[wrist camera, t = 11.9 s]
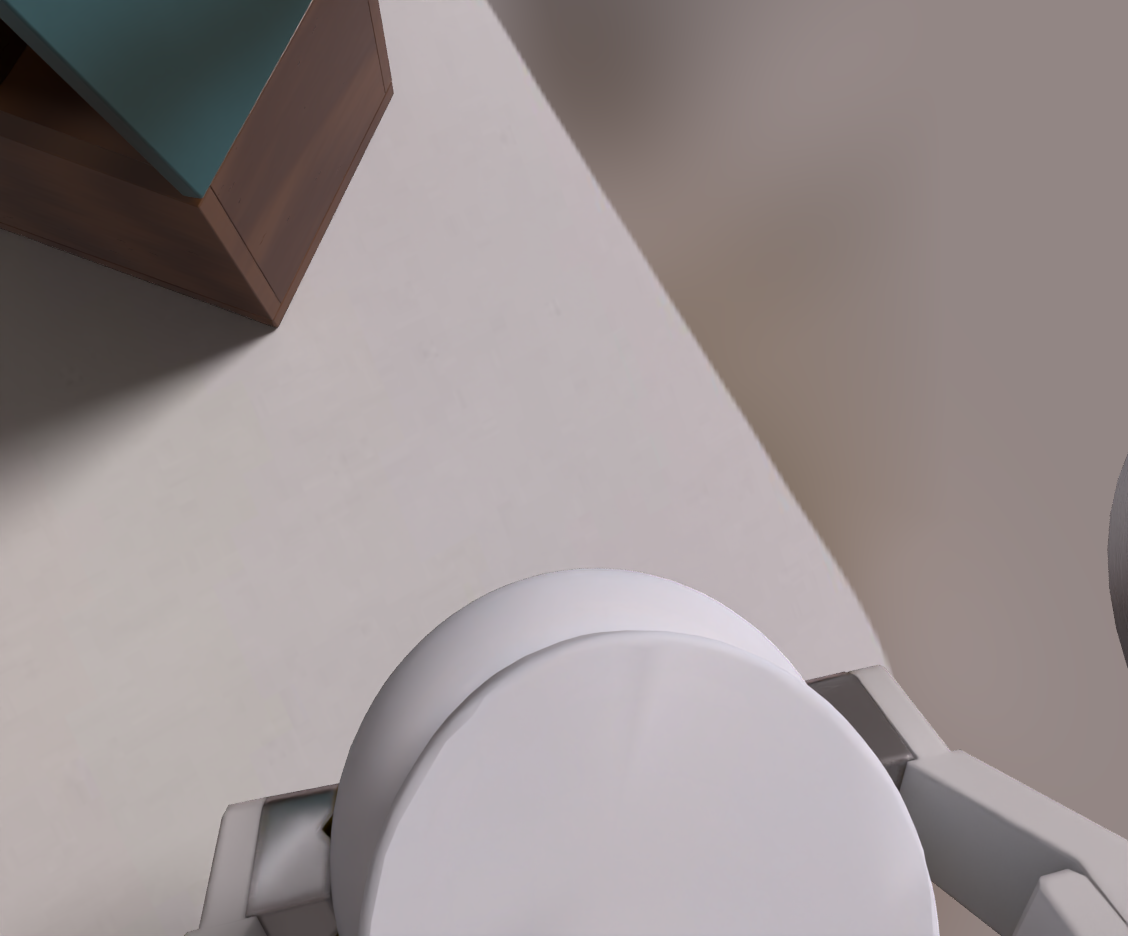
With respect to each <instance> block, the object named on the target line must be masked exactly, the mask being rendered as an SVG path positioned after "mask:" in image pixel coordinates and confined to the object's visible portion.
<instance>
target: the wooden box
mask: <svg viewBox="0 0 1128 936" xmlns="http://www.w3.org/2000/svg"><path fill="white" fill-rule="evenodd" d="M391 81H392V78H391V72H390V66H389V60H388V55H387V49H386V43H385V37H384V31H383V25H382V19H381V14H380V8H379V2H378V0H312V1H311V3H310V5H309V7H308V9H307V10H306V12H305V14H304V16H303V18H302V19H301V21H300V23H299V25H298V27H297V28H296V30H295V32H294V34H293V36H292V37H291V39H290V41H289V43H288V45H287V47H286V48H285V50H284V52H283V54H282V56H281V57H280V59H279V61H278V63H277V65H276V66H275V68H274V70H273V72H272V74H271V75H270V77H269V79H268V81H267V83H266V85H265V86H264V88H263V90H262V92H261V94H260V95H259V97H258V99H257V101H256V103H255V104H254V106H253V108H252V110H251V112H250V114H249V115H248V117H247V119H246V121H245V123H244V124H243V126H242V128H241V130H240V132H239V133H238V135H237V137H236V139H235V141H234V142H233V144H232V146H231V148H230V150H229V152H228V153H227V155H226V157H225V159H224V161H223V162H222V164H221V166H220V168H219V170H218V171H217V173H216V175H215V177H214V179H213V180H212V182H211V184H210V186H209V188H208V190H207V191H206V193H205V195H204V197H203V198H201V199H200V198H194V197H188V196H183V195H182V194H181V193H180V192H179V191H178V190H177V189H176V188H175V187H174V186H173V185H172V184H171V183H170V182H169V181H168V180H166V179H165V178H164V177H163V176H162V175H161V174H160V173H159V172H158V171H157V170H156V169H155V168H154V167H153V166H152V165H151V164H150V163H149V162H148V161H147V160H146V159H145V158H144V157H143V156H142V155H141V154H140V153H139V152H138V151H137V150H136V149H135V148H134V147H133V146H132V145H130V144H129V143H128V142H127V141H126V140H125V139H124V138H123V137H122V136H121V135H120V134H119V133H118V132H117V131H116V130H115V129H114V128H113V127H112V126H111V125H110V124H109V123H108V122H107V121H106V120H105V119H104V118H103V117H102V116H101V115H100V114H99V113H98V112H97V111H95V110H94V109H93V108H92V107H91V106H90V105H89V104H88V103H87V102H86V101H85V100H84V99H83V98H82V97H81V96H80V95H79V94H78V93H77V92H76V91H75V90H74V89H73V88H72V87H71V86H70V85H69V84H68V83H67V82H66V81H65V80H64V79H63V78H62V77H61V76H59V75H58V74H57V73H56V72H55V71H54V70H53V69H52V68H51V67H50V66H49V65H48V64H47V63H46V62H45V61H44V60H43V59H42V58H41V57H40V56H39V55H38V54H37V53H36V52H35V51H34V50H33V49H32V48H31V47H30V46H29V45H28V44H27V43H26V42H24V41H23V40H22V39H21V38H20V37H19V36H18V35H17V34H16V33H15V32H14V31H13V30H12V29H11V28H10V27H9V26H8V25H7V24H6V23H5V22H4V21H3V20H2V19H1V18H0V228H2V229H4V230H7V231H10V232H13V233H16V234H18V235H21V236H24V237H27V238H29V239H32V240H35V241H38V242H40V243H43V244H46V245H49V246H51V247H54V248H57V249H60V250H63V251H65V252H68V253H71V254H74V255H76V256H79V257H82V258H85V259H87V260H90V261H93V262H96V263H98V264H101V265H104V266H107V267H110V268H112V269H115V270H118V271H121V272H123V273H126V274H129V275H132V276H134V277H137V278H140V279H143V280H145V281H148V282H151V283H154V284H156V285H159V286H162V287H165V288H168V289H170V290H173V291H176V292H179V293H181V294H184V295H187V296H190V297H192V298H195V299H198V300H201V301H203V302H206V303H209V304H212V305H215V306H217V307H220V308H223V309H226V310H228V311H231V312H234V313H237V314H239V315H242V316H245V317H248V318H250V319H253V320H256V321H259V322H262V323H264V324H267V325H270V326H273V327H275V328H278V327H279V325H280V323H281V321H282V319H283V317H284V315H285V313H286V311H287V309H288V307H289V304H290V302H291V300H292V298H293V296H294V294H295V292H296V290H297V288H298V286H299V284H300V282H301V280H302V278H303V276H304V274H305V272H306V270H307V268H308V266H309V264H310V262H311V260H312V258H313V256H314V254H315V252H316V250H317V248H318V246H319V244H320V242H321V240H322V238H323V236H324V234H325V232H326V230H327V227H328V225H329V223H330V221H331V219H332V217H333V215H334V213H335V211H336V209H337V207H338V205H339V203H340V201H341V199H342V197H343V195H344V193H345V191H346V189H347V187H348V185H349V183H350V181H351V179H352V177H353V175H354V173H355V171H356V169H357V167H358V165H359V163H360V161H361V159H362V157H363V155H364V152H365V150H366V148H367V146H368V144H369V142H370V140H371V138H372V136H373V134H374V132H375V130H376V128H377V126H378V124H379V122H380V120H381V118H382V116H383V114H384V112H385V110H386V108H387V106H388V104H389V102H390V100H391V98H392V96H393V94H394V92H393V86H392V82H391Z"/></svg>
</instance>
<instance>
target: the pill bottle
mask: <svg viewBox="0 0 1128 936" xmlns="http://www.w3.org/2000/svg"><path fill="white" fill-rule="evenodd" d="M330 872H331V891H332V901H333V908H334V914H335V919H336V925H337V930H338V934H339V936H940V935H939V925H938V917H937V909H936V903H935V897H934V892H933V888H932V883H931V879H930V876H929V872H928V869H927V865H926V861H925V856H924V850H923V848H922V845H921V842H920V839H919V837H918V834H917V831H916V829H915V826H914V824H913V821H912V819H911V817H910V814H909V812H908V810H907V808H906V805H905V803H904V801H903V799H902V797H901V795H900V793H899V791H898V789H897V788H896V786H895V784H894V783H893V781H892V779H891V777H890V776H889V774H888V772H887V771H886V769H885V768H884V766H883V765H882V763H881V762H880V760H879V759H878V758H877V756H876V755H875V754H874V752H873V751H872V750H871V749H870V747H869V746H868V745H867V743H866V742H865V741H864V739H863V738H862V737H861V736H860V735H859V734H858V732H857V731H856V730H855V729H854V728H853V727H852V725H851V724H850V723H849V722H848V721H847V720H846V719H845V718H844V717H843V716H842V715H841V714H840V713H839V712H838V711H837V710H836V709H835V708H834V707H833V706H832V705H831V704H830V703H829V702H828V701H827V700H825V699H824V698H823V697H822V696H820V695H819V694H818V693H817V692H815V691H814V690H813V689H812V688H811V687H809V686H808V685H807V684H806V682H805V681H804V679H803V678H802V676H801V675H800V674H799V673H798V671H797V670H796V669H795V667H794V666H793V665H792V664H791V662H790V661H789V660H788V659H787V658H786V657H785V656H784V655H783V654H782V652H781V651H780V650H779V649H778V648H777V647H776V646H775V645H774V644H773V643H772V642H771V641H770V640H769V639H768V638H767V637H766V636H765V635H764V634H763V633H761V632H760V631H759V630H758V629H757V628H755V627H754V626H753V625H752V624H751V623H749V622H748V621H747V620H745V619H744V618H742V617H741V616H740V615H738V614H737V613H735V612H734V611H732V610H731V609H729V608H728V607H727V606H725V605H723V604H721V603H720V602H718V601H716V600H715V599H713V598H711V597H709V596H707V595H705V594H703V593H701V592H699V591H697V590H695V589H693V588H690V587H688V586H685V585H683V584H680V583H678V582H675V581H673V580H669V579H666V578H662V577H658V576H655V575H651V574H647V573H642V572H636V571H630V570H623V569H605V568H579V569H571V570H563V571H556V572H550V573H545V574H541V575H537V576H533V577H530V578H526V579H523V580H520V581H517V582H514V583H511V584H508V585H505V586H503V587H501V588H499V589H496V590H494V591H492V592H490V593H488V594H486V595H484V596H482V597H480V598H478V599H476V600H475V601H473V602H471V603H470V604H468V605H466V606H465V607H463V608H462V609H460V610H459V611H457V612H456V613H454V614H453V615H451V616H450V617H449V618H447V619H446V620H445V621H443V622H442V623H441V624H440V625H438V626H437V627H436V628H435V629H434V630H432V631H431V632H430V633H429V634H428V635H427V636H426V637H425V638H423V639H422V640H421V641H420V642H419V643H418V644H417V645H416V646H415V647H414V648H413V650H412V651H411V652H410V653H409V654H408V655H407V656H406V657H405V658H404V659H403V661H402V662H401V663H400V664H399V665H398V666H397V667H396V669H395V670H394V671H393V673H392V674H391V675H390V677H389V678H388V679H387V681H386V682H385V683H384V685H383V686H382V688H381V690H380V691H379V693H378V694H377V696H376V697H375V699H374V701H373V702H372V704H371V706H370V708H369V710H368V712H367V713H366V715H365V717H364V719H363V721H362V723H361V725H360V727H359V730H358V732H357V734H356V736H355V738H354V741H353V743H352V745H351V747H350V750H349V753H348V757H347V760H346V763H345V766H344V769H343V772H342V776H341V779H340V783H339V786H338V791H337V797H336V802H335V807H334V813H333V821H332V830H331V849H330Z"/></svg>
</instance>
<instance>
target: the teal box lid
mask: <svg viewBox="0 0 1128 936" xmlns="http://www.w3.org/2000/svg"><path fill="white" fill-rule="evenodd" d="M311 1H312V0H0V18H1V19H2V20H3V21H4V22H5V23H6V24H7V25H8V26H9V27H10V28H11V29H12V30H13V31H14V32H15V33H16V34H17V35H18V36H19V37H20V38H21V39H22V40H23V41H24V42H26V43H27V44H28V45H29V46H30V47H31V48H32V49H33V50H34V51H35V52H36V53H37V54H38V55H39V56H40V57H41V58H42V59H43V60H44V61H45V62H46V63H47V64H48V65H49V66H50V67H51V68H52V69H53V70H54V71H55V72H56V73H57V74H58V75H59V76H61V77H62V78H63V79H64V80H65V81H66V82H67V83H68V84H69V85H70V86H71V87H72V88H73V89H74V90H75V91H76V92H77V93H78V94H79V95H80V96H81V97H82V98H83V99H84V100H85V101H86V102H87V103H88V104H89V105H90V106H91V107H92V108H93V109H94V110H95V111H97V112H98V113H99V114H100V115H101V116H102V117H103V118H104V119H105V120H106V121H107V122H108V123H109V124H110V125H111V126H112V127H113V128H114V129H115V130H116V131H117V132H118V133H119V134H120V135H121V136H122V137H123V138H124V139H125V140H126V141H127V142H128V143H129V144H130V145H132V146H133V147H134V148H135V149H136V150H137V151H138V152H139V153H140V154H141V155H142V156H143V157H144V158H145V159H146V160H147V161H148V162H149V163H150V164H151V165H152V166H153V167H154V168H155V169H156V170H157V171H158V172H159V173H160V174H161V175H162V176H163V177H164V178H165V179H166V180H168V181H169V182H170V183H171V184H172V185H173V186H174V187H175V188H176V189H177V190H178V191H179V192H180V193H181V194H182V195H183V196H188V197H194V198H200V199H201V198H203V197H204V195H205V193H206V191H207V190H208V188H209V186H210V184H211V182H212V180H213V179H214V177H215V175H216V173H217V171H218V170H219V168H220V166H221V164H222V162H223V161H224V159H225V157H226V155H227V153H228V152H229V150H230V148H231V146H232V144H233V142H234V141H235V139H236V137H237V135H238V133H239V132H240V130H241V128H242V126H243V124H244V123H245V121H246V119H247V117H248V115H249V114H250V112H251V110H252V108H253V106H254V104H255V103H256V101H257V99H258V97H259V95H260V94H261V92H262V90H263V88H264V86H265V85H266V83H267V81H268V79H269V77H270V75H271V74H272V72H273V70H274V68H275V66H276V65H277V63H278V61H279V59H280V57H281V56H282V54H283V52H284V50H285V48H286V47H287V45H288V43H289V41H290V39H291V37H292V36H293V34H294V32H295V30H296V28H297V27H298V25H299V23H300V21H301V19H302V18H303V16H304V14H305V12H306V10H307V9H308V7H309V5H310V3H311Z"/></svg>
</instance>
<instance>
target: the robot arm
mask: <svg viewBox="0 0 1128 936" xmlns="http://www.w3.org/2000/svg"><path fill="white" fill-rule="evenodd" d="M805 682H806V684H807V685H808V686H809V687H811V688H812V689H813V690H814V691H815V692H817V693H818V694H819V695H820V696H822V697H823V698H824V699H825V700H827V701H828V702H829V703H830V704H831V705H832V706H833V707H834V708H835V709H836V710H837V711H838V712H839V713H840V714H841V715H842V716H843V717H844V718H845V719H846V720H847V721H848V722H849V723H850V724H851V725H852V727H853V728H854V729H855V730H856V731H857V732H858V734H859V735H860V736H861V737H862V738H863V739H864V741H865V742H866V743H867V745H868V746H869V747H870V749H871V750H872V751H873V752H874V754H875V755H876V756H877V758H878V759H879V760H880V762H881V763H882V765H883V766H884V768H885V769H886V771H887V772H888V774H889V776H890V777H891V779H892V781H893V783H894V784H895V786H896V788H897V789H898V791H899V793H900V795H901V797H902V799H903V801H904V803H905V805H906V808H907V810H908V812H909V814H910V817H911V819H912V821H913V824H914V826H915V829H916V831H917V834H918V837H919V839H920V842H921V845H922V848H923V850H924V856H925V861H926V865H927V869H928V872H929V876H930V879H931V881H932V882H933V883H935V884H936V885H937V886H938V887H940V888H941V889H942V890H943V891H945V892H946V893H947V894H949V895H950V896H951V897H953V898H954V899H955V900H956V901H957V902H959V903H960V904H961V905H963V906H964V907H965V908H967V909H968V910H969V911H970V912H972V913H973V914H974V915H975V916H977V917H978V918H979V919H981V920H982V921H983V922H984V923H986V924H987V925H988V926H989V927H991V928H992V929H993V930H995V931H996V932H997V933H998V934H1000V935H1001V936H1128V840H1126V839H1124V838H1123V837H1120V836H1119V835H1117V834H1115V833H1113V832H1112V831H1110V830H1108V829H1106V828H1104V827H1102V826H1100V825H1099V824H1097V823H1095V822H1093V821H1091V820H1089V819H1088V818H1086V817H1084V816H1082V815H1080V814H1078V813H1077V812H1075V811H1073V810H1071V809H1069V808H1067V807H1065V806H1064V805H1062V804H1060V803H1058V802H1056V801H1054V800H1053V799H1051V798H1049V797H1047V796H1045V795H1043V794H1041V793H1040V792H1038V791H1036V790H1034V789H1032V788H1030V787H1028V786H1027V785H1025V784H1023V783H1021V782H1019V781H1018V780H1016V779H1014V778H1012V777H1010V776H1008V775H1007V774H1005V773H1003V772H1001V771H999V770H997V769H996V768H994V767H992V766H990V765H988V764H986V763H984V762H982V761H981V760H979V759H977V758H975V757H973V756H972V755H970V754H968V753H966V752H964V751H962V750H955V751H950V749H949V748H948V747H947V745H946V744H945V743H944V742H943V741H942V739H941V738H940V736H939V735H938V734H937V733H936V731H935V730H934V729H933V727H932V726H931V725H930V724H929V722H928V721H927V720H926V719H925V717H924V716H923V715H922V713H921V712H920V711H919V710H918V708H917V707H916V706H915V705H914V703H913V702H912V701H911V699H910V698H909V697H908V696H907V694H906V693H905V692H904V690H903V689H902V688H901V687H900V685H899V684H898V683H897V681H896V680H895V679H894V678H893V676H892V675H891V674H890V672H889V671H888V670H887V669H886V668H884V667H882V666H881V665H876V666H871V667H867V668H862V669H858V670H854V671H849V672H840V673H836V674H832V675H828V676H823V677H819V678H815V679H810V680H806V681H805ZM338 786H339V783H338V784H333V785H327V786H322V787H317V788H312V789H306V790H301V791H296V792H291V793H286V794H280V795H275V796H270V797H264V798H260V799H255V800H250V801H245V802H240V803H236V804H231V805H228V807H227V809H226V811H225V813H224V815H223V817H222V819H221V824H220V829H219V834H218V838H217V843H216V848H215V853H214V858H213V862H212V867H211V872H210V877H209V882H208V887H207V891H206V896H205V901H204V906H203V911H202V915H201V920H200V925H199V929H197V930H193V931H190V932H187V933H186V934H185V935H184V936H339V934H338V930H337V925H336V919H335V914H334V908H333V901H332V891H331V872H330V849H331V830H332V821H333V813H334V807H335V802H336V797H337V791H338Z"/></svg>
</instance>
